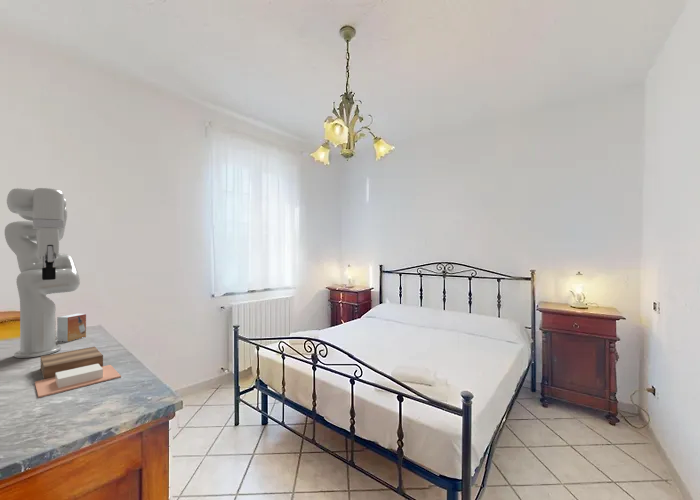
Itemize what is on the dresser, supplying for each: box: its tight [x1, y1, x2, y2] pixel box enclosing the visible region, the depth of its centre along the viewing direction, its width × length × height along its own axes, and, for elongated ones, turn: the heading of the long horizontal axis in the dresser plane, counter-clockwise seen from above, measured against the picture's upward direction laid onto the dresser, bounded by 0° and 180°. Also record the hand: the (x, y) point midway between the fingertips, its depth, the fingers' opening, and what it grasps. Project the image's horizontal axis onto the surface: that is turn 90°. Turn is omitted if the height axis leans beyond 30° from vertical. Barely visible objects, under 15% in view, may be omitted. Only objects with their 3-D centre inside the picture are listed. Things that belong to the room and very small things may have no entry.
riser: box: [40, 346, 104, 380], centre depth 104 cm, size 14×14×4 cm
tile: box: [55, 364, 103, 388], centre depth 94 cm, size 7×10×2 cm
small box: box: [56, 313, 87, 343], centre depth 137 cm, size 8×6×10 cm
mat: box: [34, 364, 122, 399], centre depth 94 cm, size 14×18×1 cm
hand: (48, 279), depth 106 cm, fingers closed
